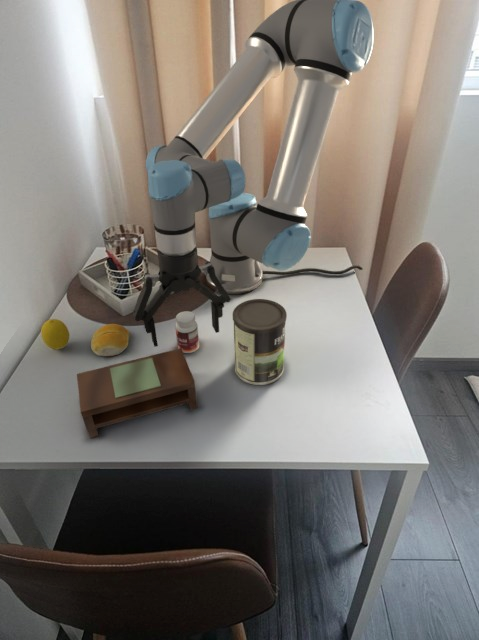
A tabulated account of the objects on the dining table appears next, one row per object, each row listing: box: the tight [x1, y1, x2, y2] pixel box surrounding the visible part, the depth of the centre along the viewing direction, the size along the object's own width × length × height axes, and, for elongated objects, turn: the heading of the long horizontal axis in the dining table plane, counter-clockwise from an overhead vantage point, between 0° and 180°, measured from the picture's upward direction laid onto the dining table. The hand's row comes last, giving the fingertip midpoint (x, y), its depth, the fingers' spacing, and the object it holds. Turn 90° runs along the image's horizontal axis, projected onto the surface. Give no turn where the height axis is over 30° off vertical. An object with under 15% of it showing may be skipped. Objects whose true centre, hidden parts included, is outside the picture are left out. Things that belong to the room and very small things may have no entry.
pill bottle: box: [174, 310, 200, 354], centre depth 96 cm, size 5×5×8 cm
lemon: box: [40, 318, 70, 350], centre depth 97 cm, size 6×6×8 cm
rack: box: [76, 348, 198, 439], centre depth 83 cm, size 20×10×7 cm, turn 110°
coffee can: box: [232, 298, 287, 386], centre depth 89 cm, size 10×10×14 cm
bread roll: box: [90, 323, 130, 357], centre depth 99 cm, size 8×9×4 cm
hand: (185, 335), depth 96 cm, fingers open, 13 cm apart
